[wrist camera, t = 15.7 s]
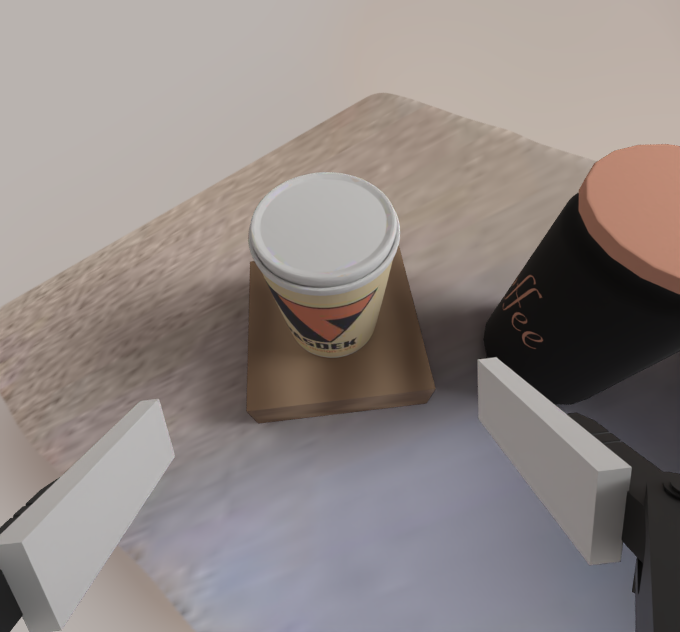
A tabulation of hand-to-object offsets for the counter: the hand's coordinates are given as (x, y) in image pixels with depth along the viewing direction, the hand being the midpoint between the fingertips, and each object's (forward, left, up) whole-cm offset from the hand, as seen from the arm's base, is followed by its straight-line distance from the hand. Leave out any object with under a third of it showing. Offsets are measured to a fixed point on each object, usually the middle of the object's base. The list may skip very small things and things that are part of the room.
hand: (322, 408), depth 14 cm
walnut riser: (-1, -12, -17) cm, 20 cm away
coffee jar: (-20, -8, -17) cm, 27 cm away
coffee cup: (-1, -12, -13) cm, 17 cm away
